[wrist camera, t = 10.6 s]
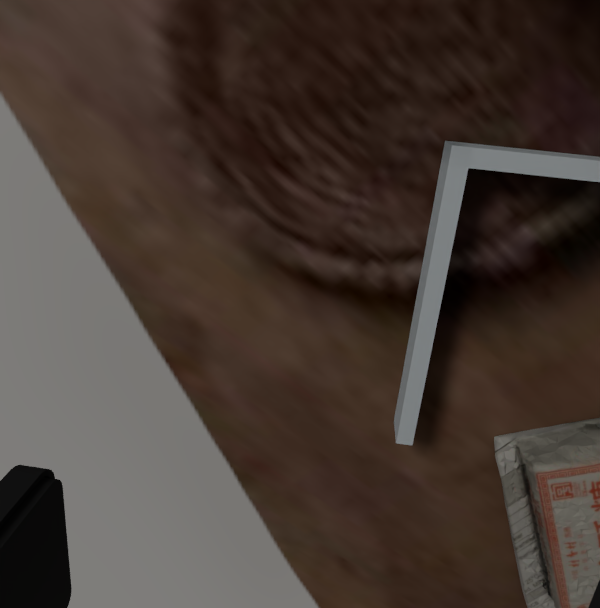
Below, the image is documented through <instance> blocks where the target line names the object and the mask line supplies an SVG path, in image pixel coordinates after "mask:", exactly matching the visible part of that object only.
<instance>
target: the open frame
mask: <svg viewBox="0 0 600 608" xmlns="http://www.w3.org/2000/svg"><path fill="white" fill-rule="evenodd" d="M468 168H472V169H481V170H490V171H500V172H509V173H518V174H528V175H537V176H546V177H556V178H565V179H574V180H584V181H593V182H600V157H596V156H586V155H577V154H567V153H557V152H548V151H538V150H529V149H519V148H509V147H500V146H490V145H480V144H471V143H461V142H452V141H445V145H444V150H443V155H442V161H441V166H440V172H439V177H438V183H437V188H436V194H435V199H434V205H433V210H432V216H431V221H430V226H429V232H428V237H427V243H426V248H425V254H424V259H423V265H422V270H421V276H420V281H419V286H418V292H417V297H416V303H415V308H414V314H413V319H412V325H411V330H410V336H409V341H408V346H407V352H406V357H405V363H404V368H403V374H402V379H401V385H400V390H399V396H398V401H397V407H396V412H395V417H394V426H395V438H396V443H398V444H405V445H413V440H414V435H415V430H416V425H417V420H418V415H419V410H420V405H421V401H422V396H423V391H424V386H425V381H426V376H427V371H428V366H429V361H430V356H431V351H432V346H433V341H434V336H435V331H436V326H437V321H438V316H439V311H440V306H441V302H442V297H443V292H444V287H445V282H446V277H447V272H448V267H449V262H450V257H451V252H452V247H453V242H454V237H455V232H456V227H457V222H458V217H459V212H460V207H461V203H462V198H463V193H464V188H465V183H466V178H467V173H468Z"/></svg>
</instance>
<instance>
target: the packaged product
mask: <svg viewBox="0 0 600 608" xmlns="http://www.w3.org/2000/svg"><path fill="white" fill-rule="evenodd" d="M494 446H495V458H496V461H497V465H498V469H499V473H500V476H501V481H502V487H503V493H504V500H505V506H506V509H507V515H508V520H509V526H510V532H511V537H512V542H513V547H514V551H515V557H516V562H517V566H518V571H519V576H520V581H521V586H522V590H523V594H524V597H525V601H526V604H527V607H528V608H588V607H589V605H590V602H591V600H592V597H593V595H594V592H595V590H596V587H597V585H598V582H599V580H600V418H596V419H590V420H584V421H578V422H572V423H566V424H560V425H556V426H551V427H546V428H539V429H532V430H527V431H521V432H516V433H511V434H505V435H500V436H495V438H494Z"/></svg>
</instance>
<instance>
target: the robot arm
mask: <svg viewBox="0 0 600 608" xmlns="http://www.w3.org/2000/svg"><path fill="white" fill-rule="evenodd" d="M70 597H71V579H70V568H69V556H68V545H67V534H66V522H65V511H64V499H63V488H62V483H61V481H60V480H57V479H55V477H54V473H53V472H52V470H49V469H43V468H36V467H29V466H23V465H18V466H15V467H14V468H13V469H11V470H10V471H9V472H8V474H7V475H6V476H5V477H4V478H3V479H2V480H1V481H0V608H67V607H68V604H69V601H70ZM588 608H600V580H599V582H598V585H597V587H596V590H595V592H594V595H593V597H592V600H591V602H590V605H589V607H588Z"/></svg>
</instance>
